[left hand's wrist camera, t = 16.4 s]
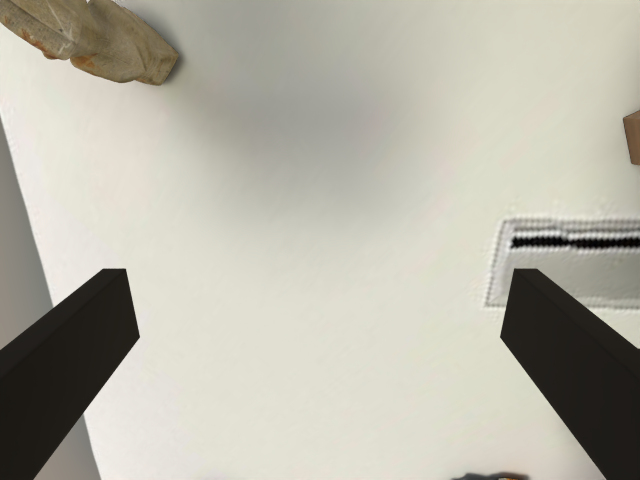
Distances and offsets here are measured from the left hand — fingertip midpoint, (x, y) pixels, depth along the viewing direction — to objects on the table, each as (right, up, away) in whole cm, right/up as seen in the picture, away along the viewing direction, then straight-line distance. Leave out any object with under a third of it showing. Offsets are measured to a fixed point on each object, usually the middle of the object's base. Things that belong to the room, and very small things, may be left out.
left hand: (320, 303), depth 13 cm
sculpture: (-17, +21, +25) cm, 37 cm away
